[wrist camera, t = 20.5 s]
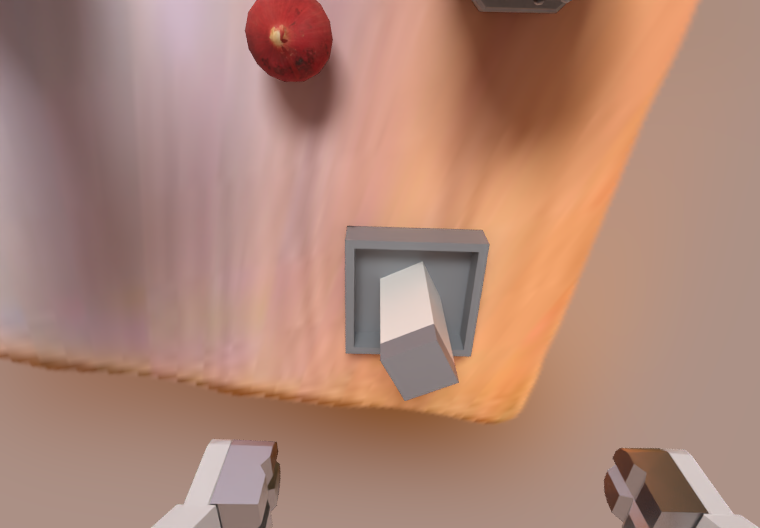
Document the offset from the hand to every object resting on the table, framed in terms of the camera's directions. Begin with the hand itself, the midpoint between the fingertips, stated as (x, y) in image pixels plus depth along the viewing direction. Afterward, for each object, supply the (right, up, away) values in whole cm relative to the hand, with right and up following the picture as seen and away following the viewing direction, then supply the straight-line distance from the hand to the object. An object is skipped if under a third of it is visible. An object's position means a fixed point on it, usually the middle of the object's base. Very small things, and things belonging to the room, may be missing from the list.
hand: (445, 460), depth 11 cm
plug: (+1, +2, +34) cm, 34 cm away
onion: (-8, +22, +24) cm, 33 cm away
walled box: (+2, +3, +34) cm, 34 cm away
